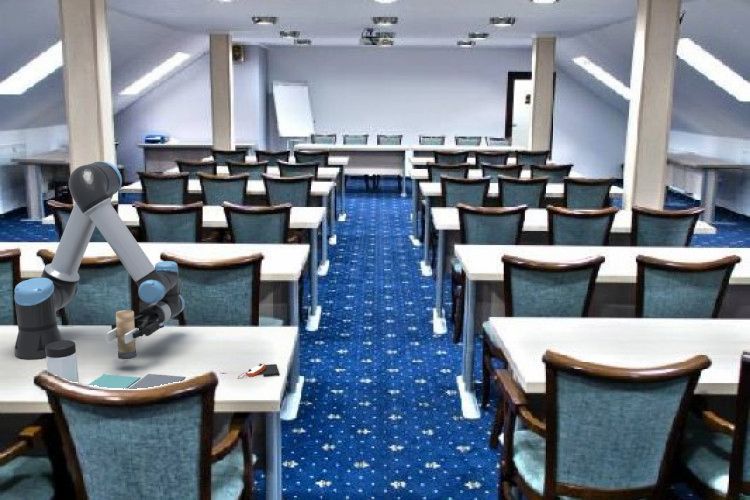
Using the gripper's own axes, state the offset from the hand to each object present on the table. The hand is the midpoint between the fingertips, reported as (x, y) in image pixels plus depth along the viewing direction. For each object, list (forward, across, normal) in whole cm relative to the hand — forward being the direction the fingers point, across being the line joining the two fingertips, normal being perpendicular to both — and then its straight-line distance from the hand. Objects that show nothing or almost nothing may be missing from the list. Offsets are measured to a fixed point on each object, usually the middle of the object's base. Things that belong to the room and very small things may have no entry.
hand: (116, 338), depth 227 cm
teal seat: (+8, -2, -11) cm, 14 cm away
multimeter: (-7, -39, -12) cm, 41 cm away
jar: (+10, +12, -12) cm, 20 cm away
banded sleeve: (-5, 0, -8) cm, 9 cm away
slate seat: (+5, -15, -11) cm, 19 cm away
